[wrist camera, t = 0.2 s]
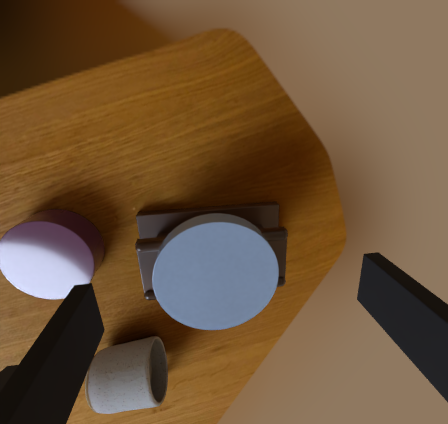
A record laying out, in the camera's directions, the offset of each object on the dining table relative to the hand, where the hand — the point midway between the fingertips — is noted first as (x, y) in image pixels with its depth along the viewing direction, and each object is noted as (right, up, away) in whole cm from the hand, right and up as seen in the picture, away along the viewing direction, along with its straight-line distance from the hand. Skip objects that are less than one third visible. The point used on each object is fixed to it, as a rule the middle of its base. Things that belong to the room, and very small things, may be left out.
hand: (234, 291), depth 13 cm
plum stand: (-19, 0, +17) cm, 26 cm away
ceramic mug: (-12, -16, +24) cm, 32 cm away
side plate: (-1, -1, +12) cm, 12 cm away
